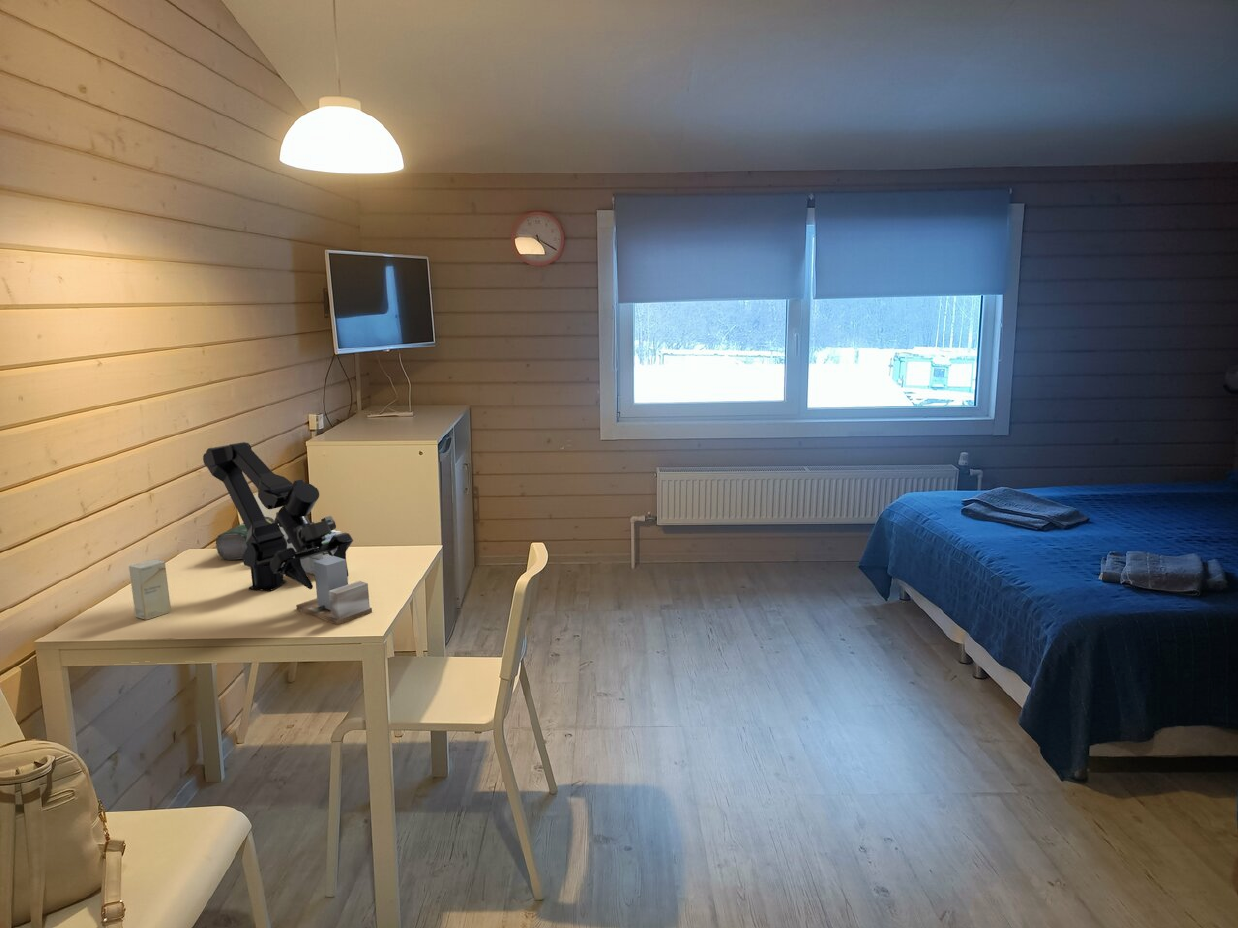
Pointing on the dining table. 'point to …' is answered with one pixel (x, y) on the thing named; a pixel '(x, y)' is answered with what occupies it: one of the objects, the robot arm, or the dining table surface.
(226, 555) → the coffee jar
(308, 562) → the light bulb box
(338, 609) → the block on stand
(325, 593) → the blue-gray square block
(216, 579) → the dining table surface
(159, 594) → the skincare box
